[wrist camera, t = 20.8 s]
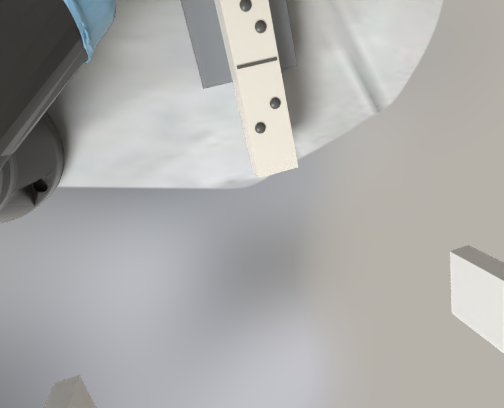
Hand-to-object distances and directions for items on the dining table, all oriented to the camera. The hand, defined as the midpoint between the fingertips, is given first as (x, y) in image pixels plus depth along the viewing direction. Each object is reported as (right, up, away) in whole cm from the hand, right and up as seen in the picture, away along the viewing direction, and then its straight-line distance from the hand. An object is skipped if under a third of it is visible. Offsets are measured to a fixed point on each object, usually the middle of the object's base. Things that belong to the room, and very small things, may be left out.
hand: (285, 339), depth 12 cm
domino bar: (-1, +19, +24) cm, 30 cm away
